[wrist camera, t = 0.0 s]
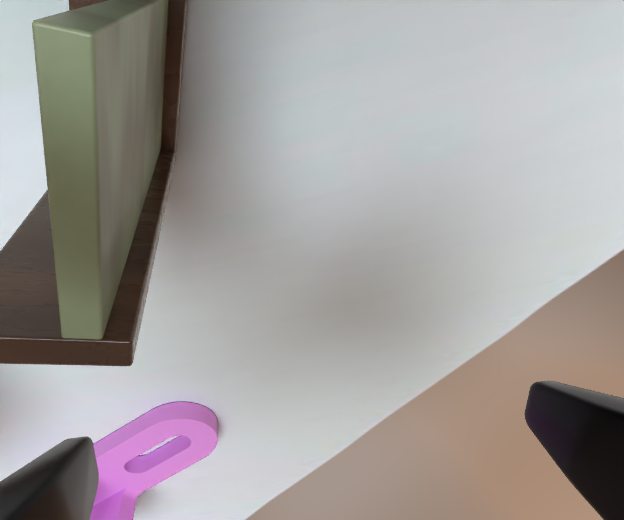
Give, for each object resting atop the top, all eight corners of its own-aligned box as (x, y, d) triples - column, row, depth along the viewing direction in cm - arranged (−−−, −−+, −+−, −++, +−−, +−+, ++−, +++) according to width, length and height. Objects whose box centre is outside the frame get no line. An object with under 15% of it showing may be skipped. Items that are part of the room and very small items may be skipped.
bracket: (104, 497, 35) (82, 600, 29) (45, 472, 31) (8, 582, 26) (232, 425, 32) (236, 520, 27) (183, 391, 29) (175, 491, 24)
